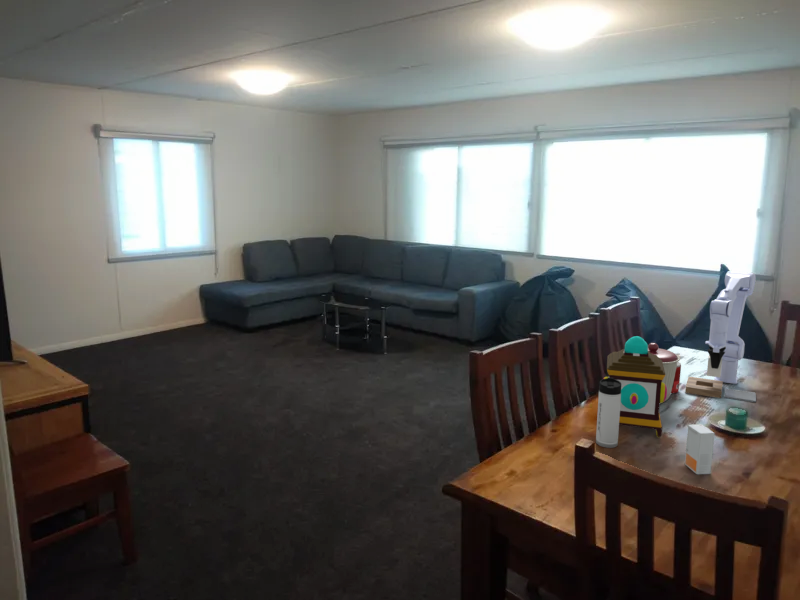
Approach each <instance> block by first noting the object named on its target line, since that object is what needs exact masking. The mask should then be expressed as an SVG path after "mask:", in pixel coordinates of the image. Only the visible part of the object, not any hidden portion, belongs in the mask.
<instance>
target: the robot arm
mask: <svg viewBox="0 0 800 600" xmlns="http://www.w3.org/2000/svg"><path fill="white" fill-rule="evenodd" d="M756 276H757V275H756V274H755V273H754V272H741V271H731V270H728V271H727V272H726V273H725V276H724V285H725V288H724V289H722V290H720V292H719V293H718V295H717V297H716V299H714V300H711V302H710V305H709V319H710V326H709V339H708V340H706V341H705V342H704V343H705V345H708V348H707V353H708V356H709V355H710V359H711V367H712V368H715V369H718V367H719V364H720V361H721V358H722V357H723V358H722V367H721V376H720V377H714V379H713V380H718V381H723V383H727V384H734V385H738V367H739V366H738V365H739V361H741V360H743V358H744V354H745V345H746V344H745V341H744V340H743V338H741V336H739V334H740V328H741V324H742V320H743V314H744V310H745V306H746V300H747V298H748V297H749V296H752V295H753V293H754V292H755V291H754V290H755V286H756V281H757V280H756V278H757V277H756Z"/></svg>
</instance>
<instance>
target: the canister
mask: <svg viewBox="0 0 800 600" xmlns="http://www.w3.org/2000/svg"><path fill="white" fill-rule="evenodd" d="M647 345H648V351H649V352H650V353H651V354H652V355H657V356H658V357H659V358H660V359H661V360H662V362H663V366H664V370H665V374H666V375H665V377H664V379H663V380H662V382H663V383H664V384H665V385H666V388H667V396H666V399H665V401H664V402H666V401H667V400H669V398H670V396H671V394H672V393H671V390H672V386H673V382H674V377H675V372H676V368H677V362H680V360H681V357H680V356H679V355H677V354H676V353H674V351H670V350H668V349H664V348H659V345H658V344H657V343H656V342H650V343H649V344H647ZM664 402H663V403H664Z"/></svg>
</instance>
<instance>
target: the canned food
mask: <svg viewBox="0 0 800 600" xmlns="http://www.w3.org/2000/svg"><path fill="white" fill-rule="evenodd" d="M681 370H682V363H681V362H680V361H678V362H677V368H676V372H675V377H674V382H673V386H672V390H671V394H677V393H679V391H680V382H681V381H680V380H681V373H682V372H681Z"/></svg>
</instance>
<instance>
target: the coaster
mask: <svg viewBox="0 0 800 600" xmlns="http://www.w3.org/2000/svg"><path fill="white" fill-rule="evenodd" d="M724 399H731V400H737V401H744V402H749V403H750V402H752V403H756V402H757V394H756V392H754V391H749V390H748V391H746V390H738V389H733V388H724Z"/></svg>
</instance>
